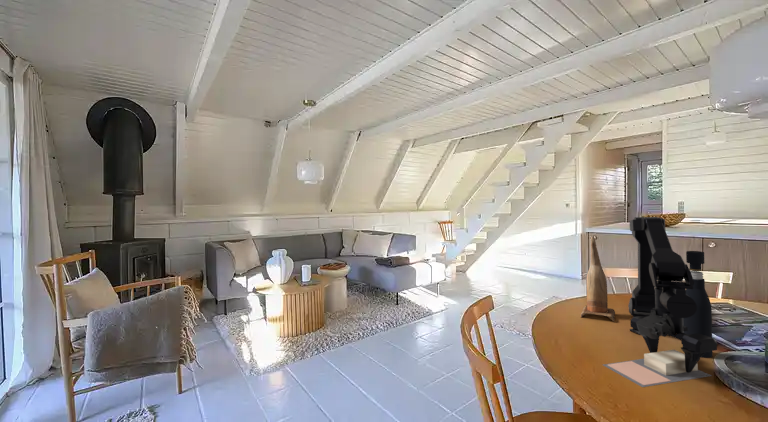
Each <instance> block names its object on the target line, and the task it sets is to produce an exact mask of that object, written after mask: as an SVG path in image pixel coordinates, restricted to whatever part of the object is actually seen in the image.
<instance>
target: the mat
mask: <svg viewBox="0 0 768 422" xmlns="http://www.w3.org/2000/svg"><path fill="white" fill-rule="evenodd" d="M602 366H604V367H606V368H607V369H609V370H610V371H613V372H614V373H616V374H618V375H619V376H622V377H623V378H624V379H626V380H629V381H630V382H632V383H633V384H635V385H637V386H639V387H641V388H646V387H653V386H658V385H663V384H669V383H676V382H683V381H688V380H689V381H690V380H696V379H701V378H707V377H712V376H713V375H712V374H709V373H707V372H705V371H703V370H700V369H698V370H697V371H691V372H690V373H687V372H684V373H678V374H672V375H664V374H662V373H660V372H658V371H656V370H654V369H652V368H650V367H648V366H646V365H644V358H639V359H631V360H625V361H619V362H618V361H617V362H611V363H605V364H602Z"/></svg>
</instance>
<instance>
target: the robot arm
mask: <svg viewBox="0 0 768 422" xmlns="http://www.w3.org/2000/svg"><path fill="white" fill-rule="evenodd" d="M629 230H630V232H631V235H632V237H633V238H634V240H635V241H636V242H637V285H636V287H634V289H632V292H631V297H630V298H629V302H628V312H629V314H630V315H631V316H632V317H631V319H630V320H629V321H630V328H629V332H631V333H635V334H638V335H639V336H641V337H643V340H644V343H645V344H646V347H647V349H648V351H649V353H654V352H659V351H658V349H659V341H660V337H663V338H665V337H672V338H674V339H677V340H679V341H681V345H682V347H680V349H681V351H682V352H683V351H684V352H683V353H684V354H685V369H686V372H687V373H690V372H691V371H692V370H693V368H694V367H695V365H696V364H697V362H698V363H699V361H700V359H702V358H701V357H702V356H703V355H704V353H705V352H711V351H712V352H713V351H715V352H716V351H718V342H717V340H715V339H714V338H713V337H712V338H711V337H708V336H705V335H702V334H699V333H697V334H689V335H688V334H685V333H684V331H688V327H686V326H684V323H683V318H688V317H691V316H693V315H694V314H695V312H696V311H697V305H696V303H695V301H694V300H693V299H692V298H691V297H689V296H688V295H687V294H686V289H693V284H694V280H693V277H692V274H691V271H692V270H690V269H689V268H690V267H689V266H688V263H687V264H686V263H685V261H684V259H683V257H682V256H681V255H680V254H678V253H677V252H675V251H674V250H673V248H672V245H671V243H670V239H669V236H668V235H667V232H666V231H667V230H666V219H665V218H663V217H658V216H635V217H633V219H631V220H630V221H629ZM683 346H684V347H683Z"/></svg>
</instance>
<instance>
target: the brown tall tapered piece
mask: <svg viewBox="0 0 768 422" xmlns="http://www.w3.org/2000/svg"><path fill="white" fill-rule="evenodd" d="M607 281H608V280H607V278H606V275H605V272H604V269H603V267H602V263H601V259H600V256H599V252H598V247H597V243H596V237H595V235H591V237H590V266H589V268H588V271H587V274H586V305H585V306H583V307H582V308H583V309H582V311H581V313H580V318H582V317H584V315H587V314H589V315H597V316H605V317H608V318H609V319H610V320H612V322H613V323H615V317H616V311H615V309H614V308H609V307H608V298H609V297H608V282H607Z"/></svg>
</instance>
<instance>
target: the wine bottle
mask: <svg viewBox="0 0 768 422" xmlns="http://www.w3.org/2000/svg"><path fill="white" fill-rule="evenodd" d="M685 253H686V254H685V255H686V257H685V258H686V260H685V261H686V263H687V264H689V267H688V268H689V269H690V271H691V274H692V277H693V280H694V284H693V289H685V290H686V294H687V295H688V296H689V297H691V298H692V299H693V300H694V301H695V303H696V305H697V311H696V312H695V314H694V315H693V316H691V317H688V318H683V323H684V326H686V327H688V331H684V333H685V334H688V335H689V334H697V333H699V334H702V335H705V336H708V337H711V338H713V316H712V315H713V313H712V312H713V311H712V310H713V309H712V305H711V301H710V297H709V295H708V293H707V290H706V289H705V288H706V284H705V283H706V279H705V278H704V272H702V271H703V270H702V265H704V264H705V252H704V251H700V250H699V251H698V250H687V251H686V252H685ZM682 347H684V346H683V345H682ZM682 353H684V351H683V350H682ZM712 357H713V351H711V352H705V353H704V355H703V356H702V357H701V358H700V359H708V358H712Z"/></svg>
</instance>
